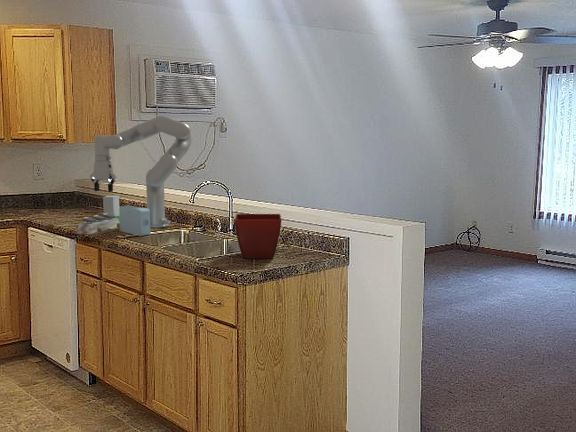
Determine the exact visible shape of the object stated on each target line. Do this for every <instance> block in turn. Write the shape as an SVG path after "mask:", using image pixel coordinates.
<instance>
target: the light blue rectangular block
mask: <svg viewBox="0 0 576 432" xmlns="http://www.w3.org/2000/svg"><path fill="white" fill-rule="evenodd" d="M119 216H120V230H119V231H120V232H123V233H127V234H132V235H135V236H139V237H142V236H143V237H144V236H150V235H151V227H150V210H149V209H147V207H146V208H145V207H139V206H135V205H121V206H120V205H119Z"/></svg>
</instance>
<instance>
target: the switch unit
mask: <svg viewBox="0 0 576 432" xmlns="http://www.w3.org/2000/svg"><path fill="white" fill-rule="evenodd" d="M95 220H96V219H95ZM77 225H78V226H77V228H78V230H76V231H74V234H75V235H87V236H88V235H90V236H91V235H92V236H98V235H99V236H100V235H103V234H108V233H112V232H115V231H121V230H120V223H119V219H115V218H113V219H110V218H108V219H106V220H103V221H100V220H98V221H97V220H96V222H93V223H90V222H88V223H86V221H83V222H80V223H78V224H77Z"/></svg>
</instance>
